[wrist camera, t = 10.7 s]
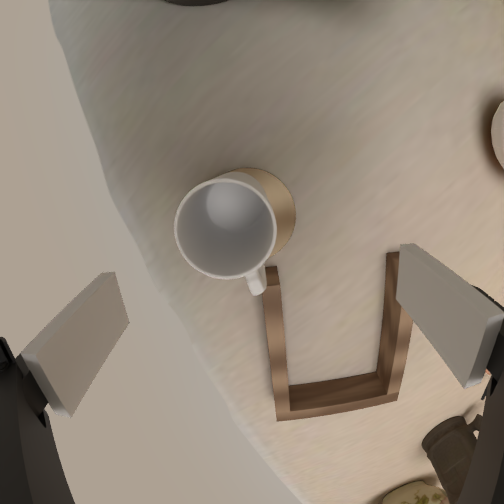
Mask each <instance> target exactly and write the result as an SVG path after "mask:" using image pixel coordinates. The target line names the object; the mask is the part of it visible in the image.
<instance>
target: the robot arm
mask: <svg viewBox="0 0 504 504" xmlns="http://www.w3.org/2000/svg"><path fill="white" fill-rule="evenodd" d="M165 1H168V2H171V3H175V4H180V5H190V6H197V5H209V4H215V3H219V2H223V1H227V0H165ZM396 300H397V301H398V302H399V303H400V305H401V306H402V307H403V308H404V310H405V311H406V312H407V313H408V315H409V316H410V317H411V318H412V320H413V321H414V322H415V323H416V325H417V326H418V327H419V328H420V330H421V331H422V332H423V334H424V335H425V336H426V338H427V339H428V340H429V341H430V343H431V344H432V345H433V347H434V348H435V349H436V351H437V352H438V353H439V355H440V356H441V357H442V359H443V360H444V361H445V363H446V364H447V366H448V367H449V368H450V370H451V371H452V373H453V374H454V375H455V377H456V378H457V380H458V381H459V382H460V384H461V385H462V387H463V388H464V389H466V388H468V387H471V386H474V385H476V384H479V383H481V381H482V378H483V376H484V373H485V371H486V369H487V370H488V371H489V372H490V374H491V375H492V376H491V378H490V380H489V382H488V385H487V387H486V389H485V391H484V394H483V396H482V398H481V400H484V398H485V396H486V400H485V406H484V412H483V417H482V421H481V426H480V430H479V435H478V439H477V443H476V447H475V450H474V454H473V458H472V461H471V464H470V468H469V471H468V474H467V477H466V480H465V483H464V486H463V488H462V491H461V494H460V497H459V499H458V502H457V504H504V307H502V306H501V305H500V304H499V303H498V302H496V301H494V299H493V298H491V297H490V296H488V294H486V293H485V292H484V291H483V290H481V289H480V288H478V287H475V286H473V285H471V284H469V283H468V282H466V281H465V280H464V279H463V278H461V277H460V276H459V275H457V274H456V273H455V272H453V271H452V270H451V269H449V268H448V267H447V266H445V265H444V264H443V263H441V262H440V261H438V260H437V259H436V258H434V257H433V256H431V255H430V254H429V253H427V252H426V251H424V250H423V249H422V248H420V247H419V246H417V245H416V244H414V243H412V244H403V245H400V255H399V269H398V282H397V292H396ZM128 324H129V319H128V316H127V313H126V310H125V306H124V303H123V300H122V296H121V293H120V289H119V286H118V282H117V279H116V275H115V272H109V273H101V274H100V275H99V276H98V277H97V278H95V280H93V281H92V282H91V283H90V284H89V285H88V286H87V287H86V288H85V289H84V290H83V291H81V292H80V293H79V294H78V295H77V296H76V297H75V298H74V299H73V300H72V301H71V302H70V303H69V304H68V305H67V306H66V307H65V308H64V309H63V310H62V311H61V312H60V313H59V314H58V315H57V316H56V317H55V318H54V319H53V320H52V321H51V322H50V323H49V324H48V325H47V326H46V327H45V328H44V329H43V330H42V331H41V332H40V333H39V334H38V335H37V336H36V337H35V338H34V339H33V340H32V341H31V342H30V343H29V344H28V345H27V346H26V348H25V349H24V350H23V351H22V352H21V353H20V354H19V356H17V357H16V359H15V358H14V356H13V354H12V352H11V350H10V348H9V346H8V344H7V341H6V339H5V338H3V337H0V504H75V502H74V500H73V497H72V495H71V492H70V489H69V486H68V484H67V481H66V478H65V475H64V472H63V469H62V465H61V462H60V459H59V455H58V452H57V449H56V445H55V441H54V437H53V433H52V429H51V425H50V420H49V416H48V414H47V412H46V411H45V410H44V408H45V407H46V405H47V403H49V405H50V406H51V408H52V409H53V411H54V412H55V414H57V415H61V416H66V417H70V418H71V417H72V416H73V414H74V412H75V410H76V409H77V407H78V405H79V403H80V402H81V400H82V398H83V397H84V395H85V393H86V391H87V389H88V388H89V386H90V385H91V383H92V381H93V380H94V378H95V377H96V375H97V373H98V371H99V370H100V368H101V367H102V365H103V363H104V362H105V360H106V359H107V357H108V355H109V354H110V352H111V351H112V349H113V348H114V346H115V344H116V343H117V341H118V339H119V338H120V337H121V335H122V333H123V332H124V330H125V329H126V327H127V326H128Z"/></svg>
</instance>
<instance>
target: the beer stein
mask: <svg viewBox="0 0 504 504" xmlns="http://www.w3.org/2000/svg"><path fill="white" fill-rule="evenodd" d="M481 421H482V416H481V415H479V414H477V415H476V418H475V419H474V421H473V422H472V423H470V424H468V425H467V424H466V420H465V419H464V418H463V417H454V418H451V419H448V420H446V421H444V422H443V423H441V424H440V425H438V426H437V427H435V428H434V429H433V430H431V431H430V433H429V434H428V435H427V436H426V437H425V439H424V440H423V443H422V447H423V449H424V450H425V452H426V453H427V457H428V458H429V459H430V461H431V463H432V465H433V467H434V469H435V471H436V473H437V475H438V478H439V480H440V482H441V485H442V487H443V488H444V490H445V491H446V494H447V497H448V500H449V504H457V502H458V499H459V497H460V494H461V491H462V488H463V486H464V483H465V480H466V477H467V474H468V471H469V468H470V464H471V461H472V458H473V454H474V450H475V447H476V443H477V439H476V437H475V435H474V433H473V432H474V431H475V430H477V431H479V430H480V426H481Z"/></svg>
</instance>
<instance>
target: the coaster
mask: <svg viewBox="0 0 504 504" xmlns="http://www.w3.org/2000/svg"><path fill="white" fill-rule="evenodd" d="M229 172H243V173H246V174H249V175H251V176H252V177H254V178H255V179H256V180H257V181H258V182H259V183H260V184H261V186H262V187H263V189H264V190H265V193H266V195H267V197H268V200H269V202H270V204H271V206H272V209H273V212H274V215H275V219H276V225H277V235H276V241H275V245H274V248H273V250H272V252H271V254H270V256H269V257H271V256H273V255H274V254H276V253H277V252H278V251H280V250H281V249H282V248H283V247H284V246H285V244H286V243H287V242H288V240H289V239H290V237H291V235H292V232H293V230H294V226H295V220H296V211H295V205H294V202H293V199H292V196H291V194H290V192H289V191H288V189H287V188H286V187H285V185H284V184H283V183H282V182H281V181H280V180H279V179H278V178H276V177H275V176H273V175H272V174H270V173H268V172H266V171H263V170H260V169H255V168H240V169H235V170H232V171H229ZM227 173H228V172H227ZM269 257H268V258H269Z"/></svg>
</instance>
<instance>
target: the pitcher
mask: <svg viewBox="0 0 504 504" xmlns="http://www.w3.org/2000/svg"><path fill="white" fill-rule="evenodd" d="M383 504H449V500H448V497H447V494H446V491H445V490H443V489H441V488H439V487H436V486H432V485H426V484H425V483H424V482H423V481H416V482H412V483H409V484H406V485H404V486H401V487H399V488H397V489H395V490H393V491H392V492H390V493H389V494H387V495H386V496H385V497H384V499H383Z"/></svg>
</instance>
